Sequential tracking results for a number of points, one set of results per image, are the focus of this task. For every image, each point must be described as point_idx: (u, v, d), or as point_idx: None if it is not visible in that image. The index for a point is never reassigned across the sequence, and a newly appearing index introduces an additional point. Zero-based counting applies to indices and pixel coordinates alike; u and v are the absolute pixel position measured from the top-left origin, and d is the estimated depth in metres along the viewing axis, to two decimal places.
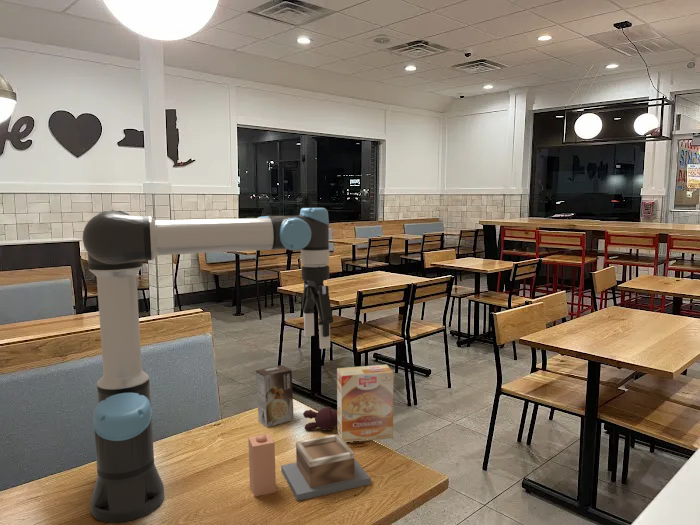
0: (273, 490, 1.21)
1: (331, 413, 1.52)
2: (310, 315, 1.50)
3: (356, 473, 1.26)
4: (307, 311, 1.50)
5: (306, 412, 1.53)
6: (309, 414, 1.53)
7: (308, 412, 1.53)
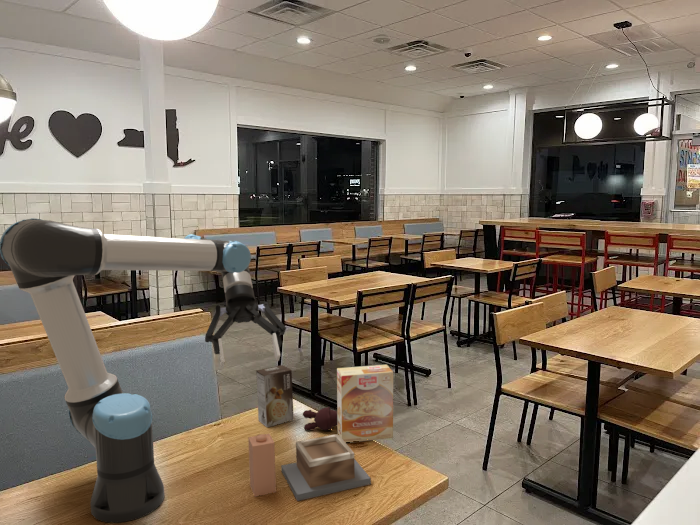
0: (273, 490, 1.21)
1: (330, 413, 1.52)
2: None
3: (356, 473, 1.26)
4: (218, 338, 1.30)
5: (305, 412, 1.53)
6: (308, 414, 1.53)
7: (307, 412, 1.53)
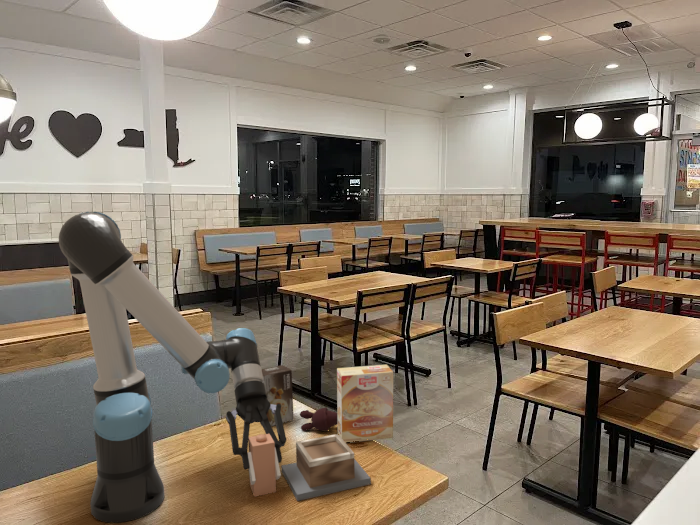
0: (273, 490, 1.21)
1: (327, 414, 1.51)
2: None
3: (356, 473, 1.26)
4: None
5: (302, 412, 1.53)
6: (305, 414, 1.53)
7: (304, 412, 1.53)
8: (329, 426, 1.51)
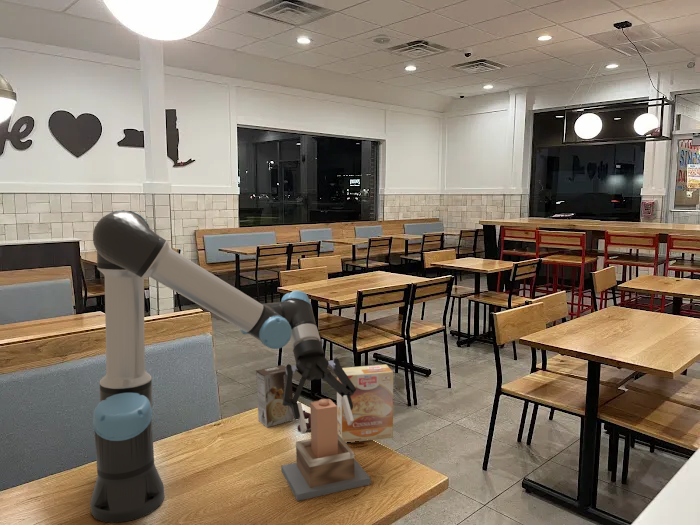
0: (335, 453, 1.25)
1: None
2: None
3: (356, 473, 1.26)
4: None
5: None
6: None
7: None
8: None
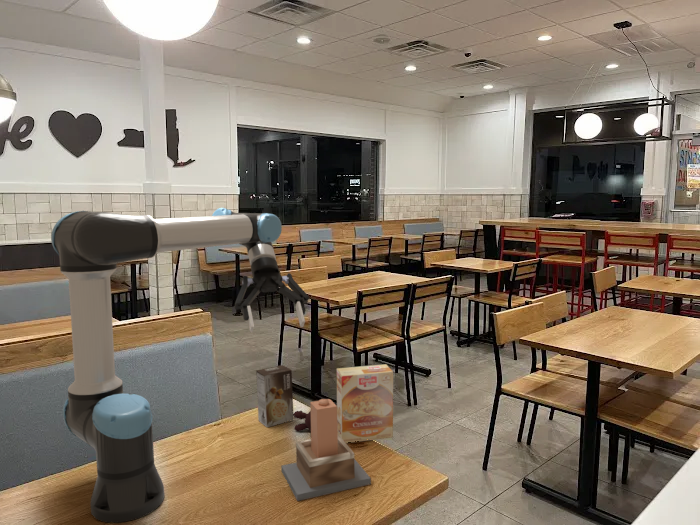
0: (335, 453, 1.25)
1: None
2: None
3: (356, 473, 1.26)
4: None
5: (296, 413, 1.53)
6: (299, 414, 1.52)
7: (298, 413, 1.53)
8: None
